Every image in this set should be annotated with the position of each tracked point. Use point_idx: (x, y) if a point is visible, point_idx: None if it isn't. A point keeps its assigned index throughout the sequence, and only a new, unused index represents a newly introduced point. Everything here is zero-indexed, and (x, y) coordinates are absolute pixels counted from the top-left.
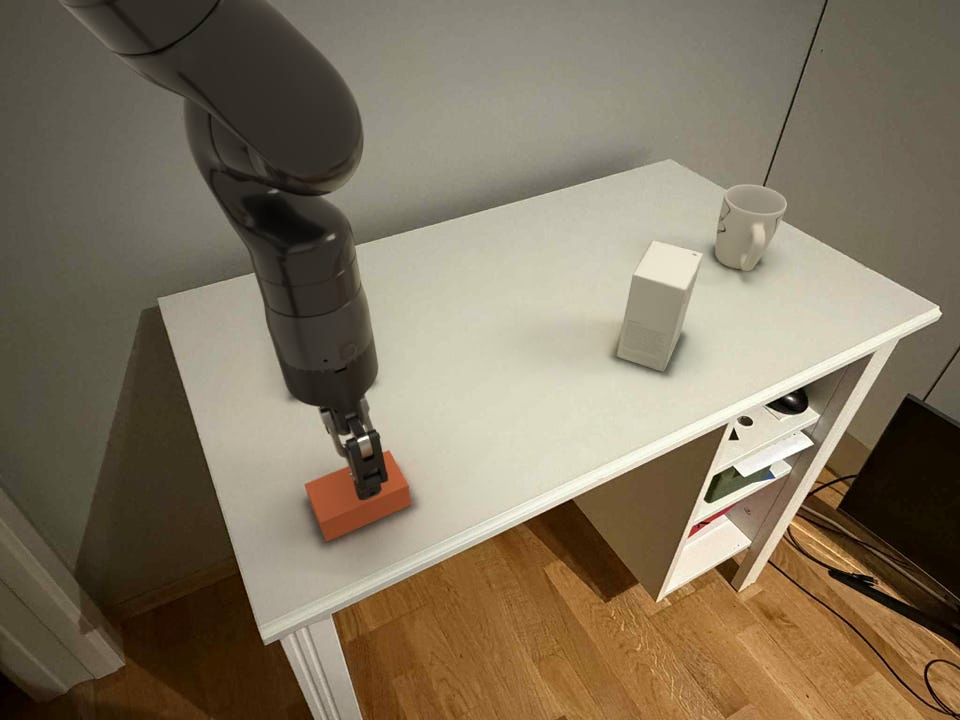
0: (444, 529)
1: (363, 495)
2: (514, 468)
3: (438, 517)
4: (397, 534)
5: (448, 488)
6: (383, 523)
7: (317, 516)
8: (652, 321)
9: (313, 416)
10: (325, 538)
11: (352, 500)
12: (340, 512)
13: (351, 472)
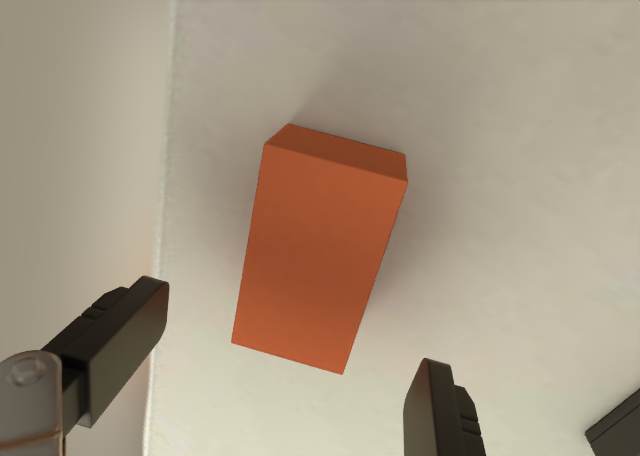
0: (175, 302)
1: (106, 301)
2: (212, 439)
3: (202, 311)
4: (214, 241)
5: (244, 358)
6: None
7: (287, 149)
8: None
9: (631, 305)
10: (283, 127)
11: (273, 240)
12: (260, 199)
13: (4, 385)
